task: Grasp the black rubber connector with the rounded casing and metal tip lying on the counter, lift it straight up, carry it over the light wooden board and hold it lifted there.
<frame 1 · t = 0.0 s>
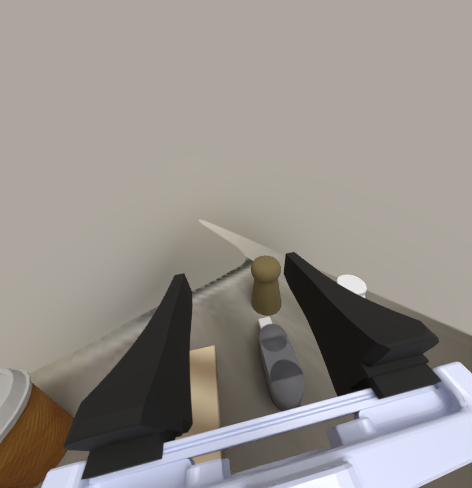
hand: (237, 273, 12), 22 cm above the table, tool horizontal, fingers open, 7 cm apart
disposable coffee cup: (45, 449, 21), on the table
wooden board: (163, 440, 21), on the table
cork: (266, 302, 35), on the table
supplement bottle: (339, 316, 31), on the table
connector: (278, 371, 25), on the table
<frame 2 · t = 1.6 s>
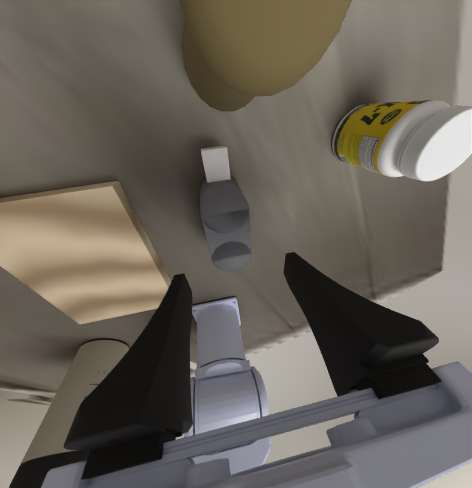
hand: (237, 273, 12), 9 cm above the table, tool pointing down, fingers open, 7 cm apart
wooden board: (97, 264, 21), on the table
cork: (225, 59, 12), on the table
supplement bottle: (352, 134, 17), on the table
connector: (222, 212, 20), on the table
travel mug: (106, 347, 33), on the table
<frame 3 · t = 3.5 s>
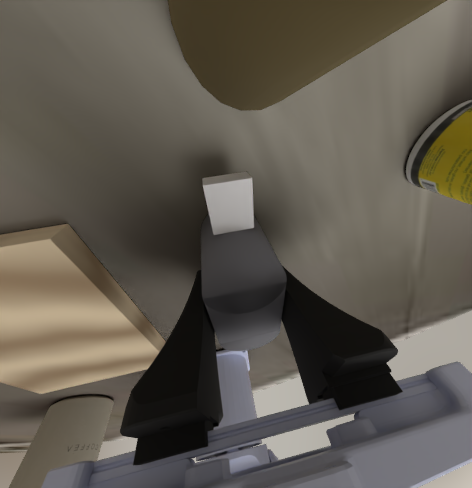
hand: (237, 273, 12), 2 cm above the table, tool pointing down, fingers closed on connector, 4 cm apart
wooden board: (56, 326, 15), on the table
cork: (252, 7, 6), on the table
supplement bottle: (437, 146, 11), on the table
connector: (233, 257, 13), on the table, touching gripper
travel mug: (85, 401, 26), on the table
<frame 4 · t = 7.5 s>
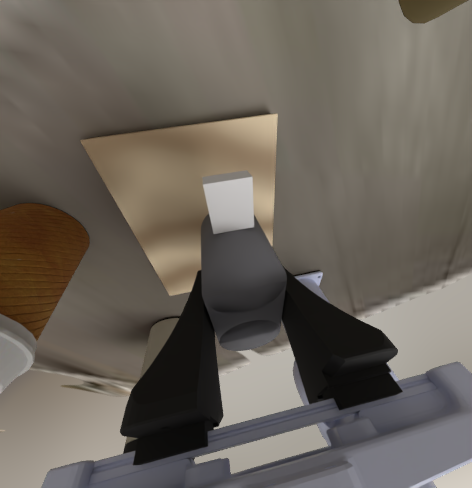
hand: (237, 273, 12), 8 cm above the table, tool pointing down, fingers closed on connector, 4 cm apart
disposable coffee cup: (52, 232, 17), on the table
wooden board: (207, 223, 19), on the table
connector: (233, 257, 13), point 7 cm above the table, touching gripper
travel mug: (175, 327, 31), on the table
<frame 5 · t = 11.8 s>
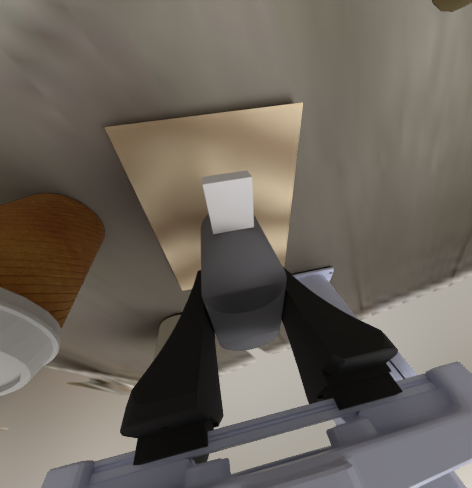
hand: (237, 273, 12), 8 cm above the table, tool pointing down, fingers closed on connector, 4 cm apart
disposable coffee cup: (67, 223, 16), on the table
wooden board: (223, 216, 19), on the table
connector: (233, 257, 13), point 7 cm above the table, touching gripper
travel mug: (184, 323, 31), on the table
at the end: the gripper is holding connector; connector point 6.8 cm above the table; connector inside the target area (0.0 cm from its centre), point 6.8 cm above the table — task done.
